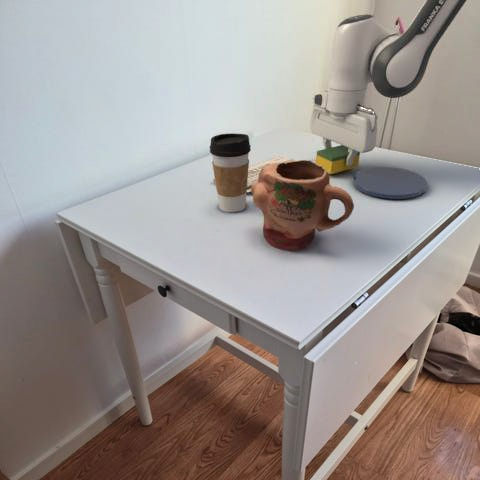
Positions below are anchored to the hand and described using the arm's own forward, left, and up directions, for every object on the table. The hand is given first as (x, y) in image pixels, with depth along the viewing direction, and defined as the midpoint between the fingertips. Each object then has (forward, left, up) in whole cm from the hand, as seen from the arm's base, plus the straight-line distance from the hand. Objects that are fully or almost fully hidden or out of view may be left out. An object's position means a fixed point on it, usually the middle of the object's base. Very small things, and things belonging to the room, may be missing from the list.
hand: (337, 160), depth 107 cm
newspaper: (+18, -7, -3) cm, 19 cm away
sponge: (0, 0, -2) cm, 2 cm away
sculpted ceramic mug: (+30, +23, -3) cm, 38 cm away
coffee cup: (+33, +3, -3) cm, 33 cm away
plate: (-4, +14, -3) cm, 15 cm away
